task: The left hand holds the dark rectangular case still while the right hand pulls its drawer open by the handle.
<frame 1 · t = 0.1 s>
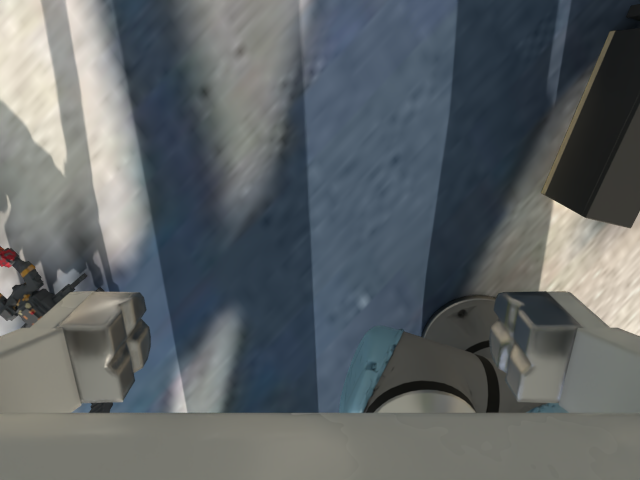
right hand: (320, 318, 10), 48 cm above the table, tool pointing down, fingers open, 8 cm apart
dark rectangular case: (593, 122, 55), on the table
toy: (69, 306, 65), on the table
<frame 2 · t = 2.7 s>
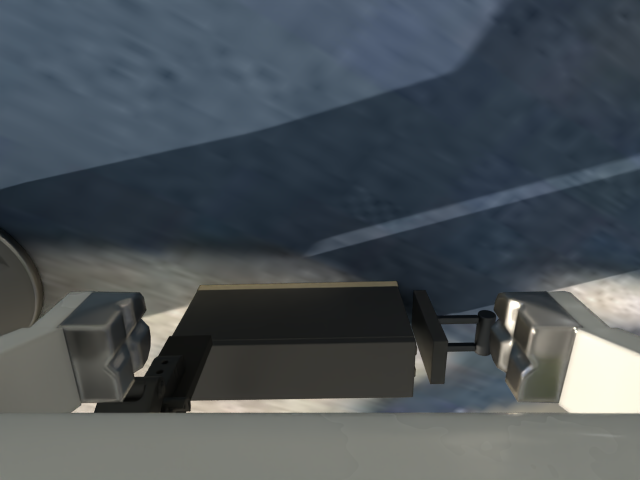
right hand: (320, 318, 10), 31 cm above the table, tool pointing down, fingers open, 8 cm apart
dark rectangular case: (299, 306, 46), on the table
drawer: (360, 334, 41), point 5 cm above the table, slide at 1.6 cm
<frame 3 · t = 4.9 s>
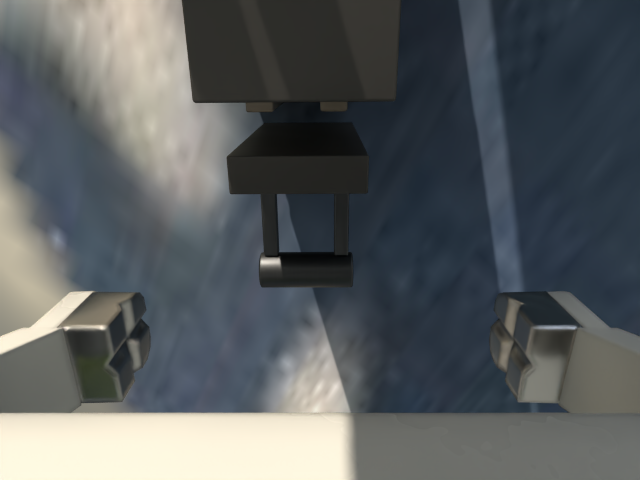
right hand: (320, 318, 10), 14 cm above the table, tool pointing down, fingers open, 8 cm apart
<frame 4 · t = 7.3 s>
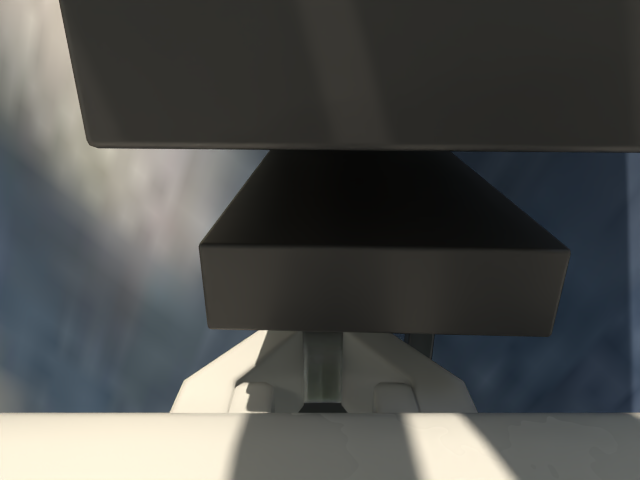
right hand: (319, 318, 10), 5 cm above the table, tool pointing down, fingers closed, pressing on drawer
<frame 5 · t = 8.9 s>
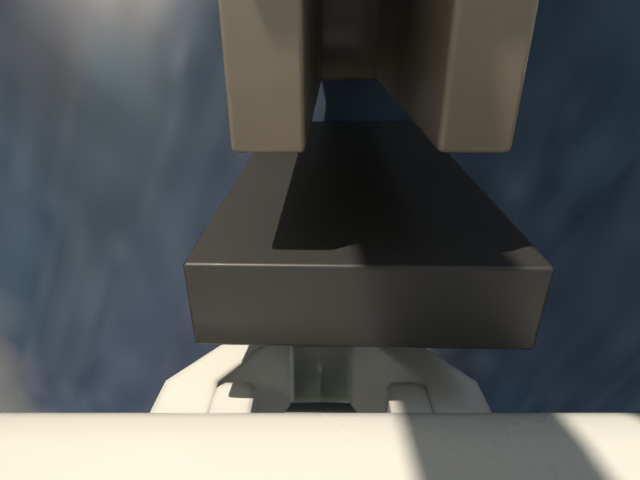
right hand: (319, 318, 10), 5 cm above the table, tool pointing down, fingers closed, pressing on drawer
when the left hand's fingers open (5 cm above the table, at t = 10.2 s): dark rectangular case stays where it is, on the table.
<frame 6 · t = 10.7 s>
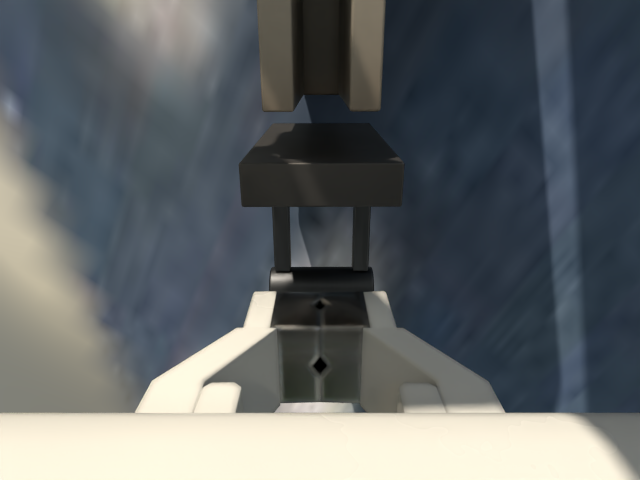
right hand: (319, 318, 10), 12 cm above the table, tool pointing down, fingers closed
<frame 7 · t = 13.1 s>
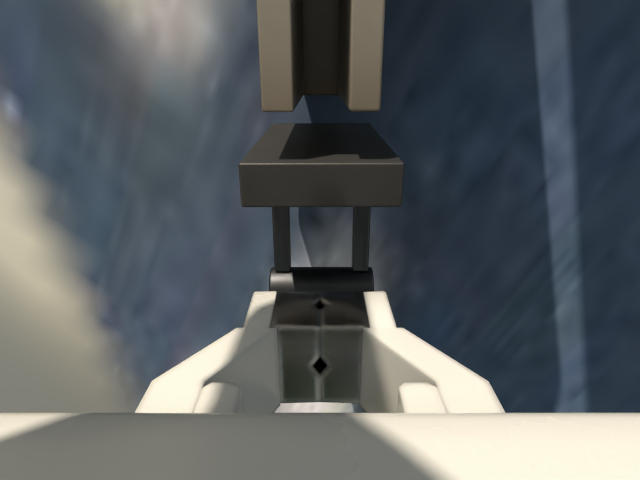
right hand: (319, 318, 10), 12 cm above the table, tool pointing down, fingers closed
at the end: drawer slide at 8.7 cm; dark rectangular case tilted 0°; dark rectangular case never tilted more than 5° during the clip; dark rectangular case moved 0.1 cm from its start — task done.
